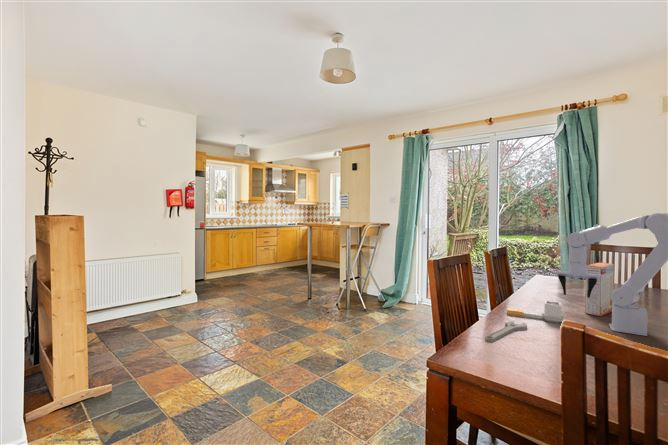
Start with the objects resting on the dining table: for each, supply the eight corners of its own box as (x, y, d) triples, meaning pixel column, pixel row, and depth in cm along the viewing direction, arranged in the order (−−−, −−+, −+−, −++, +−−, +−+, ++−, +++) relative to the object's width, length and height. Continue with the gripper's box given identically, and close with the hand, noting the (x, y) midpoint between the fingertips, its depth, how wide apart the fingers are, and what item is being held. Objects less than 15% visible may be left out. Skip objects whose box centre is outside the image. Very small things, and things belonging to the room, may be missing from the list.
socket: (560, 315, 131) (560, 302, 131) (561, 318, 126) (561, 305, 126) (544, 312, 134) (544, 300, 134) (544, 316, 129) (544, 303, 129)
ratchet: (562, 319, 131) (562, 307, 131) (563, 324, 125) (563, 311, 125) (507, 311, 142) (507, 300, 141) (506, 315, 136) (506, 303, 135)
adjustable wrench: (491, 344, 108) (491, 338, 108) (473, 337, 113) (473, 332, 113) (529, 328, 122) (529, 324, 122) (512, 323, 127) (512, 319, 127)
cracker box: (596, 308, 147) (598, 262, 146) (613, 311, 142) (615, 263, 141) (583, 313, 140) (584, 264, 139) (600, 317, 135) (602, 266, 134)
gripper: (599, 262, 131) (597, 296, 131) (555, 259, 139) (554, 291, 139) (601, 264, 125) (600, 300, 125) (555, 261, 133) (554, 294, 133)
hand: (576, 295), depth 132 cm, fingers open, 7 cm apart
